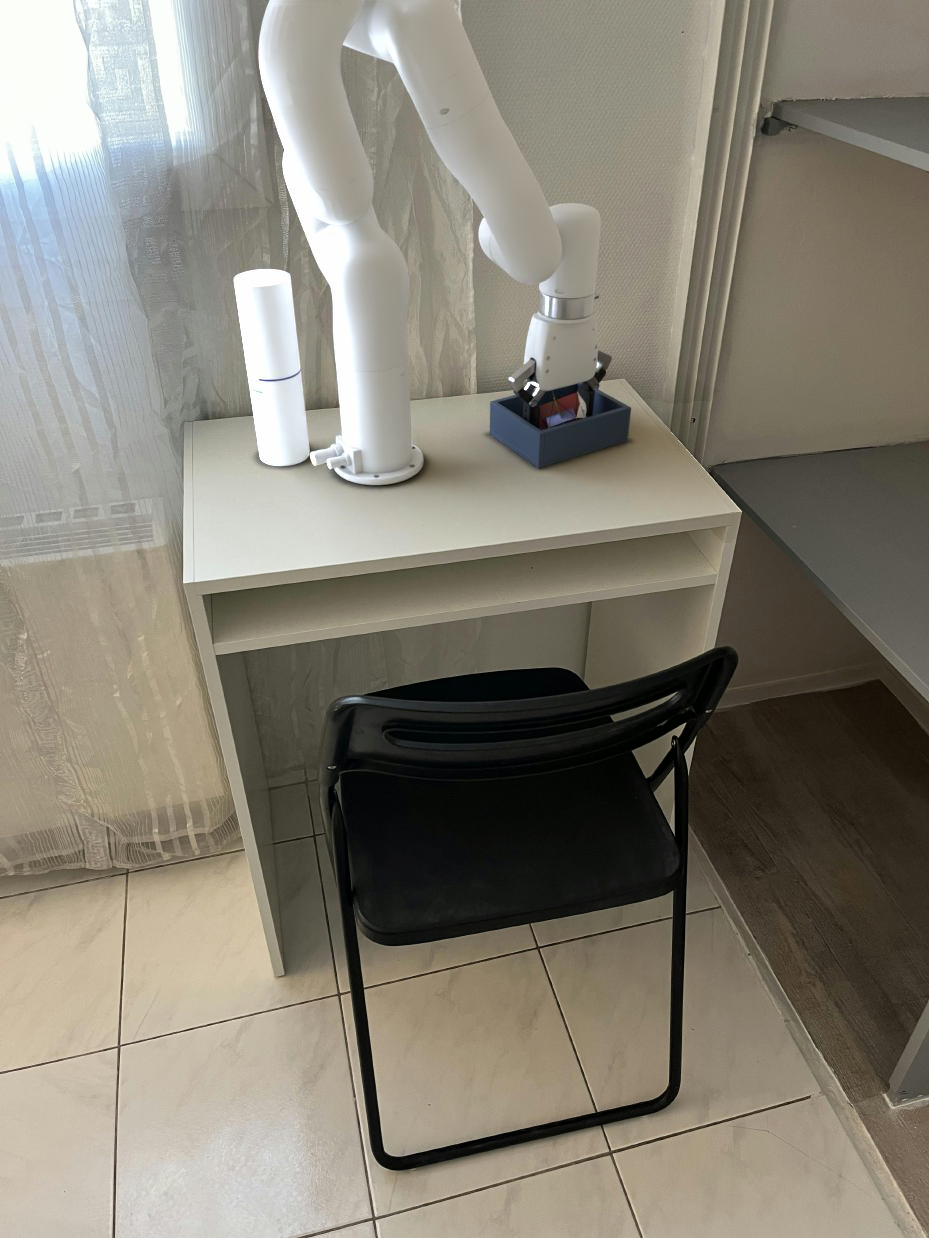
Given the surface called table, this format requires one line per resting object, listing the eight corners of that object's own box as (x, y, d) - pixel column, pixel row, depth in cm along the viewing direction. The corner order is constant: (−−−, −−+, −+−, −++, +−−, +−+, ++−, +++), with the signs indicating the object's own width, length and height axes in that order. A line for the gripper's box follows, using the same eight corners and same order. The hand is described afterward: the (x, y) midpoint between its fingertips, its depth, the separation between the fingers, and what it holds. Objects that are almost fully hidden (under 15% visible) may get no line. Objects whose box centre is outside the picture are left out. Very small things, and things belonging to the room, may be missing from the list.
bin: (538, 468, 131) (539, 433, 128) (489, 434, 139) (489, 401, 136) (627, 441, 138) (631, 407, 134) (575, 410, 146) (578, 378, 143)
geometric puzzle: (525, 430, 134) (561, 387, 130) (521, 409, 139) (555, 368, 136) (563, 456, 137) (599, 415, 133) (557, 435, 142) (592, 395, 138)
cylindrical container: (300, 468, 131) (278, 288, 116) (252, 463, 132) (224, 284, 117) (316, 445, 137) (298, 271, 122) (270, 441, 138) (246, 267, 123)
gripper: (599, 286, 133) (589, 399, 143) (497, 307, 125) (494, 425, 136) (633, 301, 128) (620, 417, 138) (529, 323, 120) (523, 445, 131)
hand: (557, 421), depth 137 cm, fingers open, 9 cm apart
